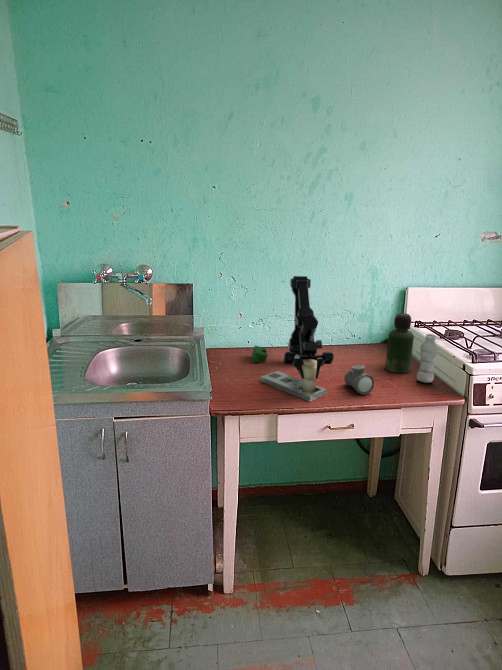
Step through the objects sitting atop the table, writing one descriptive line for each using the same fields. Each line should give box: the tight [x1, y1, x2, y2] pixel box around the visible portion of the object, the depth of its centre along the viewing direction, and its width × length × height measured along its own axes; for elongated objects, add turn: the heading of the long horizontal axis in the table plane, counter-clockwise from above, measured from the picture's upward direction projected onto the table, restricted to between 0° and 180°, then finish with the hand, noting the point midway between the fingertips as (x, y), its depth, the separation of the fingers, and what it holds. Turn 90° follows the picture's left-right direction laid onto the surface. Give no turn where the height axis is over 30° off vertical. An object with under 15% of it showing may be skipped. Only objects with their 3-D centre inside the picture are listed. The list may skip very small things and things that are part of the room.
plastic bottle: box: [416, 333, 438, 384], centre depth 194 cm, size 6×7×20 cm
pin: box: [302, 359, 317, 394], centre depth 181 cm, size 5×5×13 cm
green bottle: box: [384, 312, 415, 374], centre depth 206 cm, size 10×10×25 cm
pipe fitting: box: [343, 364, 375, 396], centre depth 187 cm, size 12×8×10 cm
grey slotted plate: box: [260, 370, 328, 402], centre depth 188 cm, size 10×26×2 cm, turn 43°
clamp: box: [251, 345, 268, 364], centre depth 218 cm, size 11×6×8 cm, turn 177°
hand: (309, 378), depth 179 cm, fingers closed on pin, 5 cm apart
